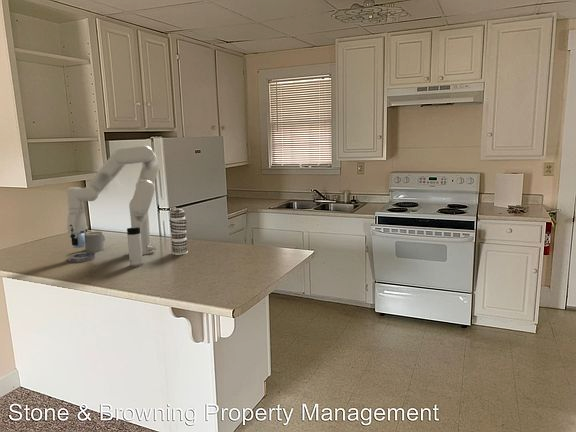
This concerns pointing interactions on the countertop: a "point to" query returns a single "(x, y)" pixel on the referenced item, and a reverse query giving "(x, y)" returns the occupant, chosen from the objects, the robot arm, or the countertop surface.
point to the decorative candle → (178, 231)
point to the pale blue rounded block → (80, 240)
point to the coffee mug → (94, 241)
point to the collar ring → (81, 257)
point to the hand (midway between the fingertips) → (79, 243)
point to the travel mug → (135, 247)
